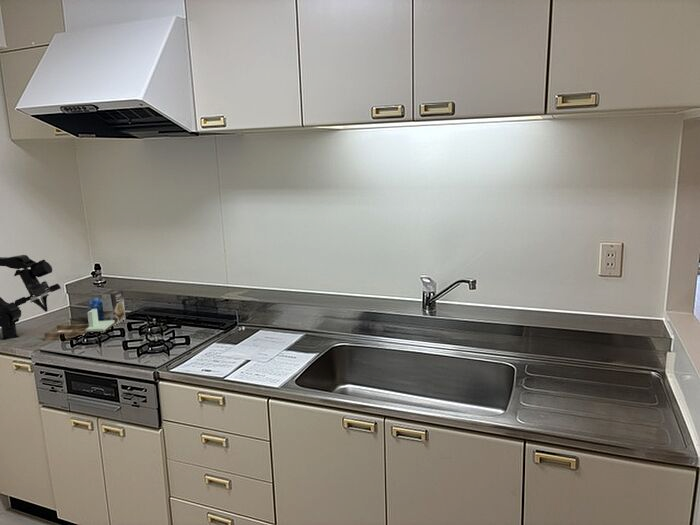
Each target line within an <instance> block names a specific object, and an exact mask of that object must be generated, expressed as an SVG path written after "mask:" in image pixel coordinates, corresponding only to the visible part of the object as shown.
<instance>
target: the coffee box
mask: <svg viewBox="0 0 700 525" xmlns="http://www.w3.org/2000/svg"><path fill="white" fill-rule="evenodd" d="M101 299H102V304H103V315H104V319H103V321H109V320H115V322H114V325H115V326H117V325H116V324H118V323H120V322H122V321H123V320H125V319H126V310H125V299H124V291H123V290H118V289H117V290H110V291H107V292H104V293H101ZM122 323H123V322H122ZM120 324H121V323H120ZM118 325H119V324H118Z"/></svg>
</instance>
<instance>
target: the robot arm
mask: <svg viewBox="0 0 700 525" xmlns="http://www.w3.org/2000/svg"><path fill="white" fill-rule="evenodd" d="M0 267H7V268H10V269H13V270H15V273H14V274H13V276H14V277H17V276H19V277H20V279H21V281H22V283H23V285H24V287H25V288H26V291H27V292H28V294H29V296H27V297H25V296H23V297H20V298H17V299H16V300H14V301H12V302H7V301H6V300H4V299H3V298H2V297H1V296H0V330H1V335H0V338H1V340H8V339H13V338H19V336H20V335H19V334H18V332H17V325H16V323H18V322H19V321H20V318H21V317H22V310H21V307H20V306H21V305H23V304H26V303H27V302H28V301H30V303H34V304H35V305H37V306H38V307H39V308H41V309H42V311H44V312H45V313H47V312H48V311H49V310H48V300H47V298H48V297H49V295H50V294H48V293H53V292H56V291H57V290H60V289H62V288H61V285H60V284H58V283H55V284H53V285H50V286H49V283H48V282H47V281H46V280H44V281H42V282H40V281H39V279H38V278H42V277H43V276H46V275H48V274H52V273H53V267H52V265H51V264H50V263H49V262H47V261H46V259H42V260H39V261H35V260H33V259H31V258H30V257H29V256H28V255H26V254H20V255H19V254H18V255H13V256H8V257H7V256H4V257H3V256H2V257H0ZM38 297H39V298H38Z"/></svg>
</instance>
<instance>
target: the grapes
mask: <svg viewBox="0 0 700 525" xmlns="http://www.w3.org/2000/svg"><path fill="white" fill-rule="evenodd" d="M88 304H89V306H88V310H89V311H90V310H92V309H97V313H98V321H102V320H104V315H103V304H102V298H100V299H99V298H98V297H97V296H96V297H94V298H93V299H90V300H89V302H88Z"/></svg>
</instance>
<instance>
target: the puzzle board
mask: <svg viewBox="0 0 700 525" xmlns="http://www.w3.org/2000/svg"><path fill="white" fill-rule="evenodd" d="M112 326H113V327H115V328H116V325H115V326H114V323H113V324H112V325H110V326H109V327H108V328H107V329H105V330H104V331H85V329H87V328H88V327H89V323H83V324H82V323H81V324H80V323H79V324H60V325H59V324H58V325H57V326H56V329H57V330H55V331H52V332H45V333H44V338H43V341H61V340H60V335H61V334H65V337H66V338H72V337H75V336H78V335H83V334H85V333H87V332H102V333H104V332H105V331H106V330H108V329H110V328H111V327H112Z"/></svg>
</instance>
